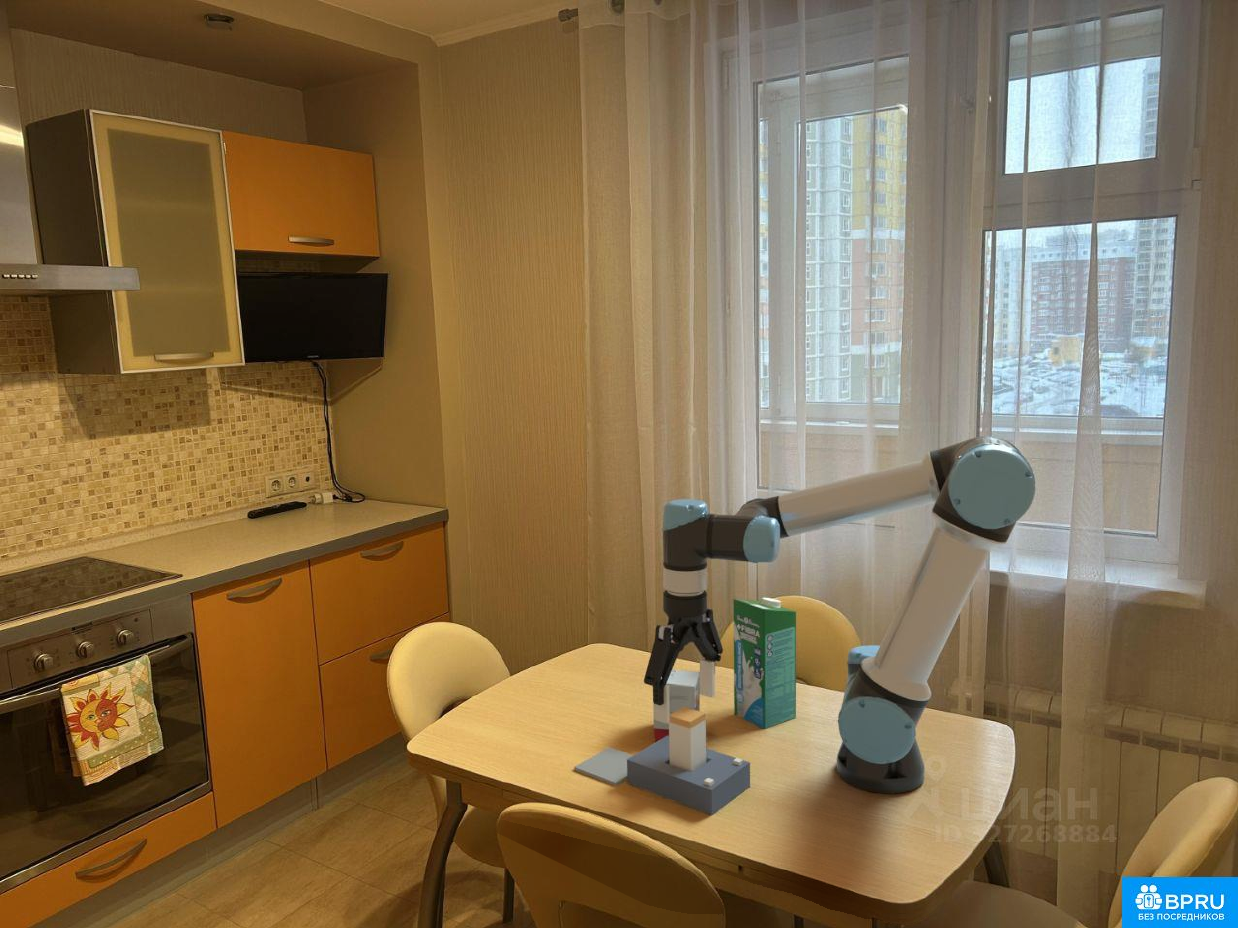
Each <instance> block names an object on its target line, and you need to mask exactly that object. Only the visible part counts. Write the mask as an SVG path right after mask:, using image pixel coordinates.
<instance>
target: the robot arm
mask: <svg viewBox="0 0 1238 928" xmlns="http://www.w3.org/2000/svg"><path fill="white" fill-rule="evenodd" d="M1035 493H1036V479H1035V474H1034V472H1033V469H1032V467H1031V464H1030V462H1028V460H1027V459H1026V458H1025V456H1024V455H1023V454H1022V453H1021V451H1020V450H1019V449H1018V448H1017V447H1016V446H1015V445H1014V444H1013V443H1012V442H1010V441H1008V440H1006V439H1004V438H1002V437H999V436H998V437H997V436H994V435H993V436H992V435H983V436H976V437H972V438H969V439H967V440H963V441H961V442H958V443H955V444H952V445H948V446H946V447H945V446H944V447H943V448H939V449H935V450H932V451H927V453H926V454H925V456H924V457H923V458H922V459H920V460H917V461H916V460H915V461H911V462H908V463H905V464H899V465H895V466H892V467H888V468H884V469H879V470H876V471H872V472H868V473H864V474H860V475H856V476H855V475H854V476H852V477H847V478H844V479H840V480H835V481H831V482H828V483H823V484H819V485H814V486H811V487H808V488H802V489H798V490H796V491H792V492H788V493H784V494H780V495H777V496H771V497H767V498H765V497H756V498H753V499H751V500H747V501H746V502H745V503H744V504H743V505H742V506H741V507H740V508H739V510H738V511H737V512H736V513H735V514H734V515H733V514H732V515H731V514H714V513H709V510H708V505H707V503H706V502H705V501H704V500H698V499H692V498H682V499H681V498H680V499H679V498H678V499H672V500H671V501H668V502H667V503H666V504H665V505H664V508H663V515H662V516H663V517H662V527H661V531H662V553H663V554H662V557H663V559H662V561H663V562H662V564H663V576H662V577H663V579H662V580H663V583H662V584H663V589H664V591H663V592H662V598H663V599H662V607H663V608H662V609H663V612H664V614H666V616H667V619H668V620H667V624H666V625H656V627H655V632H654V633H655V635H654V641H653V645H652V648H651V649H652V650H651V653H650V657H649V659H648V662H647V667H646V671H645V675H644V679H643V684H645V685H649V686H651V687H652V702H653V703H654V705H653V721H654V720H657V721H660V722H663V723H666V724H667V723H669V722H670V711H669V685H666V683H667V681H668V678H669V676H670V674H671V671H672V670H674V669H673V668H674V667H675V663H676V661H677V659H678V656H679V653H680V652H682V651H684V648H685V646H688V645H689V644H690V643H693V644H694V646H695V647H696V649H697V650H698V652H699V654H700V655H701V656H702V657H703V658H701V659H699V672H700V696H705V697H708V698H711V699H712V698H715V694H716V693H715V687H716V686H715V683H716V682H715V681H716V680H715V679H716V677H715V675H716V662H720V661H721V659H722V654H723V652H724V648H723V646H722V642H721V639H720V636H719V633H718V630H717V627H716V624H715V620H714V612H713V611H714V610H713V609H710V608H708V593H707V591H706V590H707V588H708V559H711V560H712V559H713V560H724V561H725V560H726V561H733V562H734V561H736V562H748V563H749V562H750V563H753V564H758V563H772V562H775V561H776V560H777V558H778V555H779V551H780V545H781V543H780V542H781V539H785V538H789V537H792V536H797V535H801V534H806V533H809V532H810V533H811V532H814V531H819V530H823V529H829V528H832V527H836V526H840V525H845V524H849V523H850V524H851V523H853V522H858V521H863V520H867V519H871V518H875V517H880V516H884V515H888V514H893V513H898V512H902V511H907V510H911V509H915V508H919V507H924V506H928V505H932V504H934V505H933V508H932V509H931V514H932V517H933V518H934V521H935V528H934V529H933V532H932V534H931V536H930V538H929V540H928V543H927V544H926V546H925V549H924V551H923V553H922V555H921V558H920V560H919V561H918V564H917V566H916V568H915V570H914V573H913V575H912V577H911V578H910V581H909V583H908V586H907V587H906V590H905V592H904V594H903V596H902V598H901V601H900V603H899V605H898V607H897V608H896V611H895V614H894V615H893V618H892V619H891V622H890V624H889V627H888V628H887V630H886V631H885V635H884V637H883V640H882V641H881V643H880V645H872V644H871V645H859V646H856V647H855V646H854V647H853V648H851V649H850V650H849V651H848V654H847V661H846V665H847V678H846V679H847V681H846V686H845V690H844V695H843V699H842V703H841V707H840V710H839V712H838V716H837V724H838V732H839V736H840V738H841V740H842V741H841V745H840V747H839V750H838V752H837V756H836V772H837V775H838V776H839V777H840V778H841V779H842V780H843V781H845V782H846V783H848V784H849V785H851V786H853V787H855V788H858V789H860V790H864V791H869V792H873V793H878V794H899V793H900V794H901V793H907V792H911V791H913V790H915V789H917V788H918V787H920V786H921V785H923V783H924V781H925V763H924V760H923V757H922V753H921V751H920V748H919V745H918V741H917V739H916V738H917V737H916V736H917V732H916V730H917V729H916V728H917V727H918V726H917V725H918V724H919V722H920V720H921V717H922V715H923V713H924V711H925V710H926V708H927V704H928V703H929V702H930V699H931V697H932V691H931V688H930V687H929V684H928V680H929V677H930V675H931V673H932V671H933V669H934V667H935V666H936V662H937V661H938V658H939V657H940V654H941V653H942V651H943V648H944V647H945V644H946V642H947V641H948V638H949V636H950V635H951V632H952V630H953V628H954V626H955V624H956V621H957V620H958V617H959V615H960V614H961V611H962V610H963V608H964V605H965V603H966V601H967V599H968V597H969V595H970V594H971V591H972V590H973V587H974V584H975V582H976V580H977V579H978V577H979V574H980V573H981V570H982V568H983V566H984V564H985V562H986V560H987V558H988V556H989V554H990V551H991V550H993V549H994V548H996V547H997V548H998V547H999V546H1003V545H1005V544H1007V542H1008V539H1009V537H1010V535H1011V534H1012V531H1013V530H1014V528H1015V526H1016V523H1017V522H1018V521H1019V520H1020V519H1021V518H1022V517H1023V516H1025V515H1026V513H1027V512H1028V510H1029V509H1030V507H1031V506H1032V504H1033V501H1034V498H1035V495H1036V494H1035ZM661 677H662V679H661Z"/></svg>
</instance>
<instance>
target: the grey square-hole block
mask: <svg viewBox="0 0 1238 928" xmlns="http://www.w3.org/2000/svg"><path fill="white" fill-rule="evenodd" d="M626 782H627V784H629V785H631V786H633V787H636V788H639V789H641V790H645V791H647V792H649V793H652V794H654V795H657V796H660V797H663V798H665V799H668V800H670V801H672V802H676V803H678V804H681V805H682V806H683V805H684V806H687V807H689V808H691V809H694V810H697V811H699V812H701V813H705V814H707V815H709V816H713V815H714V814H716V813H717V812H718V811H720V810H722V809H723V808H724V807H725V806H726V805H728V804H729V803H730V802H732V801H733V800H735V798H737V797H738V796H739V795H740V796H741V794H742V793H744V792H745V791H746V790H748V789H749V788H750V787H751V762H749V761H747V760H744V759H741V758H739V757H734V756H731V755H728V754H725V753H722V752H719V751H716V750H714V749H710V748H707V747H706V764H704V765H703V766H701V767H700V768H698V769H697V770H695V771H694V772H689V771H687V770H684V769H681V768H678V767H675V766H672V765H670V751H669V736H666V737H664V738H662V739H661V740H659V741H656V742H655V741H654V743H652V744H650V745H649V746H647V747H645V748H644V749H642V750H640V751H639V752H637V753H636V754H634V755H633V756H632V757H630V758H629V759H627V780H626Z"/></svg>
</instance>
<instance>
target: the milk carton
mask: <svg viewBox="0 0 1238 928" xmlns="http://www.w3.org/2000/svg"><path fill="white" fill-rule="evenodd" d="M781 604H782V601H781V600H779V599H775V598H770V597H762V598H761V600H754V599H751V600H750V599H741V598H740V599H738V598H733V692H734V694H733V699H734V700H733V706H734V707H733V709H734V710H733V711H734V712H733V714H734V715H736V716H737V717H739V718H741V719H743V720H745V721H747V722H749V723H752V724H753V725H756V727H759V728H761V729H764V730H765V729H768V728H770V727H772V726H773V727H774V726H776V725H779V724H781V723H784V722H787V721H789V720H793V719H795V718H796V717H797V716H796V715H797V611H795V610H794V609H790V608H787V607H783V606H781Z"/></svg>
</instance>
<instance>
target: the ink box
mask: <svg viewBox="0 0 1238 928" xmlns="http://www.w3.org/2000/svg"><path fill="white" fill-rule="evenodd" d="M661 679H662V677H661ZM666 685H669V711H670V714H672V713H674V712H676V711H678V710H679V709H681V708H683V707H687V708H690V709H694V710H697V711H700V710H701V707H700V706H701V705H700V699H701V694H700V671H696V670H695V671H694V670H680V669H672V671H671V674H670V676H669V678H668V681H667V683H666ZM652 705H653V706H654V703H653V704H652ZM700 712H701V711H700ZM666 736H669V723H667V724H666V723H663V722H660V721H657V720H654V719H653V740H654V741H656V742H657V741H659V740H661V739H662V738H664V737H666Z"/></svg>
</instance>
